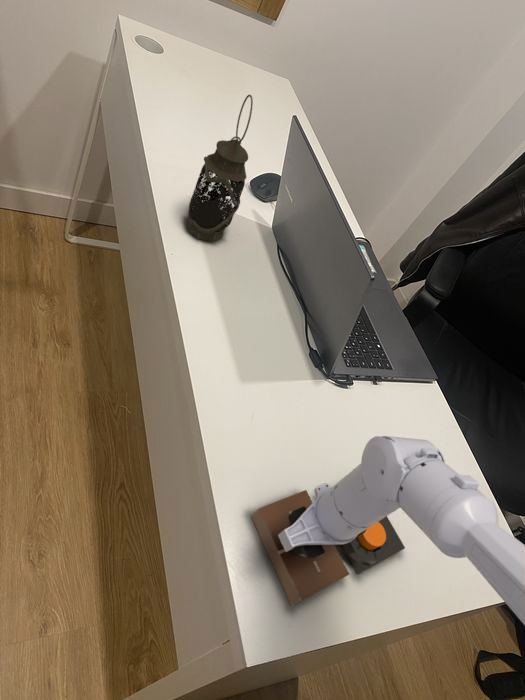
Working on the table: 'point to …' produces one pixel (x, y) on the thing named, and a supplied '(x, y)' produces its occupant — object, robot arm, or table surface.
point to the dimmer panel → (296, 570)
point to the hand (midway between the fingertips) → (304, 539)
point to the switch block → (369, 558)
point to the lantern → (226, 166)
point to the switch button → (373, 537)
